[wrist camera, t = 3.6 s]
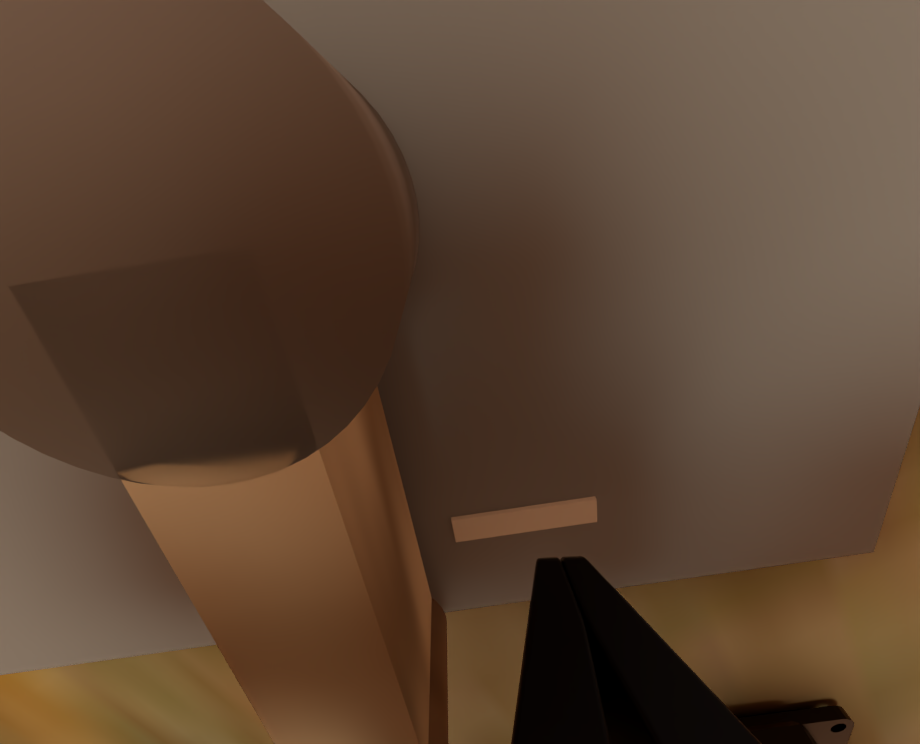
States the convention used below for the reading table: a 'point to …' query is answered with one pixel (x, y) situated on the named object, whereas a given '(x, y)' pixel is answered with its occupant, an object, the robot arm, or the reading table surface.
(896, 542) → the reading table surface
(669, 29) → the dial plate
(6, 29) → the lever
